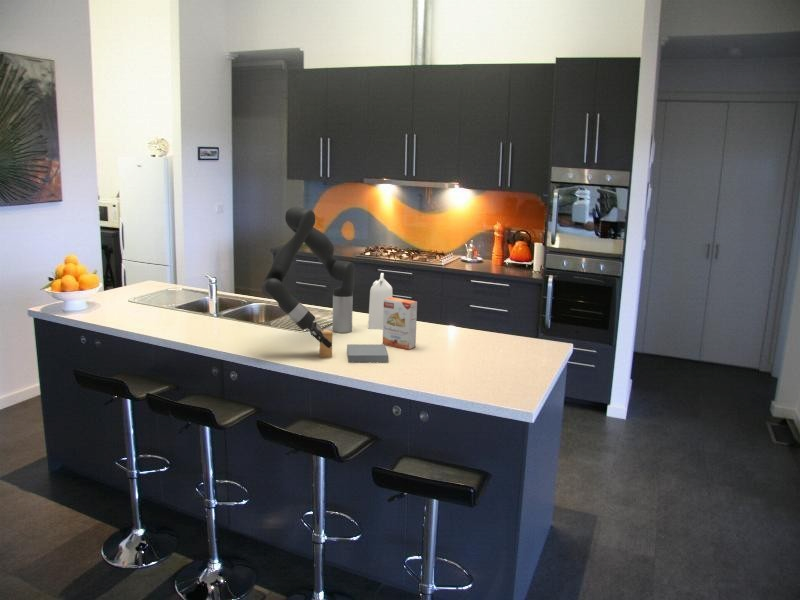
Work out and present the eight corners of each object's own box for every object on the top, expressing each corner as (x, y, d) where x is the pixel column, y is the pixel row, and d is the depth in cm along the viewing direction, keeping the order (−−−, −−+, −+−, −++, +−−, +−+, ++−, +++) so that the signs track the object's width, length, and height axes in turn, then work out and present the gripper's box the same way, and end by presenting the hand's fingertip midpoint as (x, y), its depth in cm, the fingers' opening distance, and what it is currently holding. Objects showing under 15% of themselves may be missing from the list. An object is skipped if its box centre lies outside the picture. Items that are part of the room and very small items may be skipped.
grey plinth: (347, 351, 285) (347, 344, 284) (384, 351, 286) (384, 344, 286) (348, 362, 269) (348, 355, 268) (388, 362, 271) (388, 355, 270)
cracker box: (381, 344, 296) (383, 298, 292) (389, 341, 301) (390, 296, 297) (408, 350, 289) (410, 303, 285) (415, 347, 294) (417, 300, 290)
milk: (392, 329, 323) (393, 276, 317) (368, 328, 323) (369, 275, 317) (392, 323, 334) (394, 272, 329) (369, 323, 334) (370, 271, 329)
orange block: (319, 353, 280) (319, 330, 278) (331, 353, 280) (332, 330, 278) (319, 357, 275) (319, 333, 273) (331, 357, 276) (332, 333, 273)
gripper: (307, 313, 266) (337, 343, 270) (308, 305, 280) (336, 333, 284) (293, 326, 266) (324, 355, 270) (295, 318, 280) (323, 346, 284)
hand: (330, 344), depth 277 cm, fingers closed on orange block, 5 cm apart
